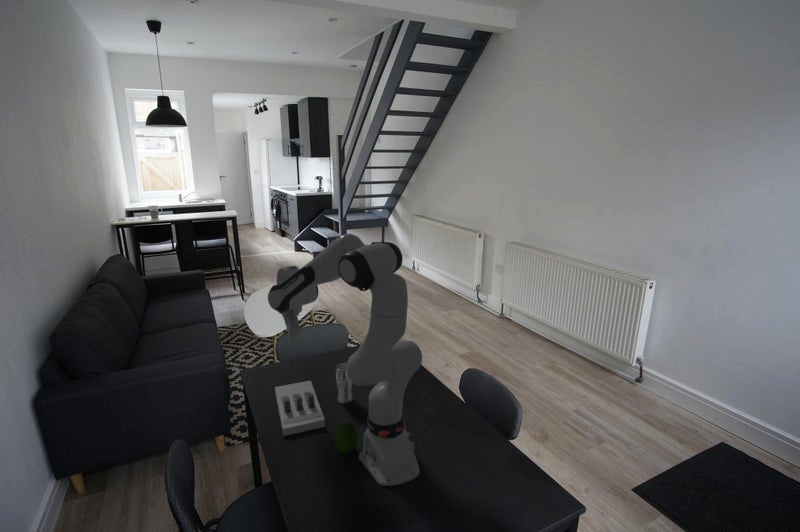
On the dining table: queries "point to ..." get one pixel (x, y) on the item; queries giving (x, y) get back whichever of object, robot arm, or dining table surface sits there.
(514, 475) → the dining table surface
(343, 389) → the beer glass
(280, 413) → the breaker panel
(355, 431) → the avocado
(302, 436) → the dining table surface
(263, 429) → the dining table surface
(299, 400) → the breaker handle
